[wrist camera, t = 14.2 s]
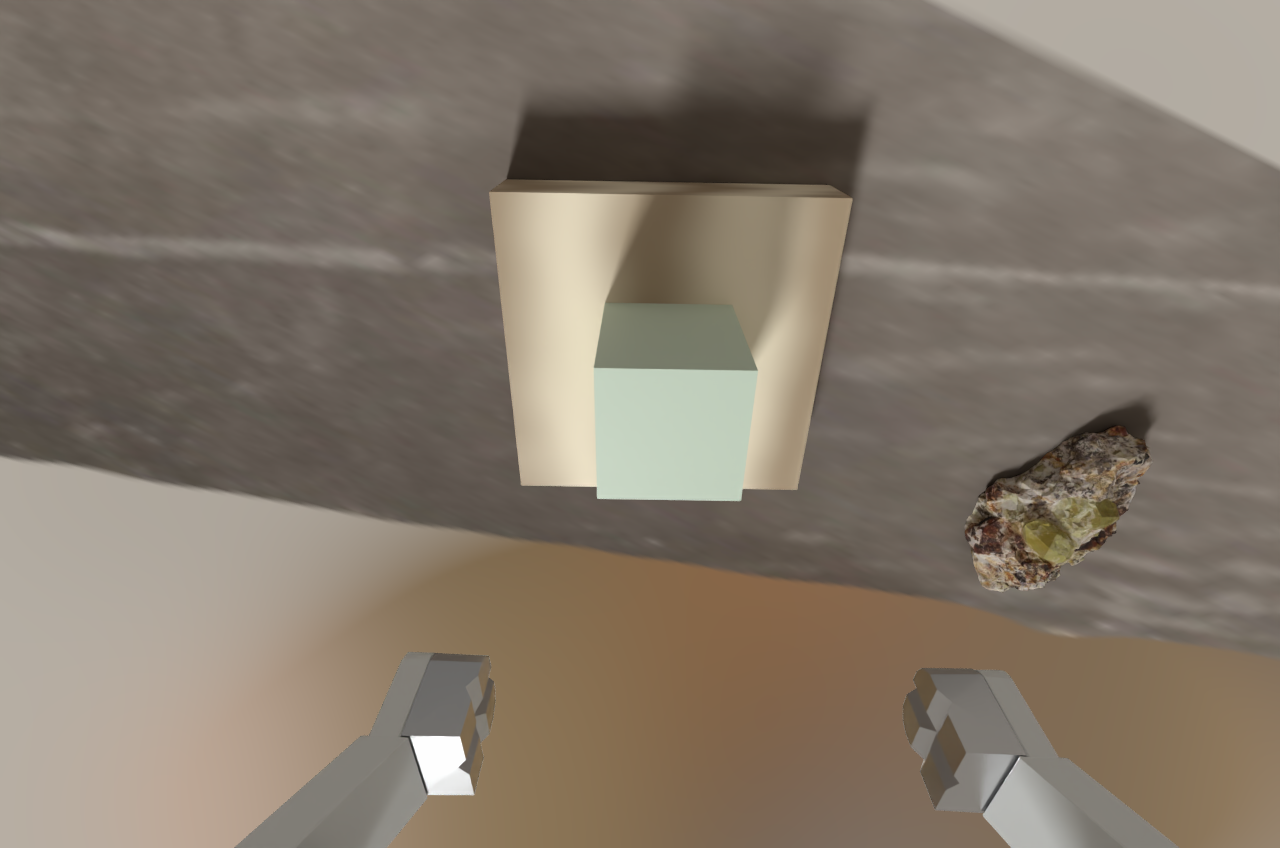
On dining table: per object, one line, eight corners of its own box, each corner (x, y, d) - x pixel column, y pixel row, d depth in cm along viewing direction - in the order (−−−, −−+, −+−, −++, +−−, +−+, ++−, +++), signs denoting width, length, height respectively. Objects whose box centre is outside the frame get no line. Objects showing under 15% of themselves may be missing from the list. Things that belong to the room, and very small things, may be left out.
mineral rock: (1065, 618, 33) (976, 611, 30) (1007, 562, 37) (921, 549, 33) (1221, 473, 29) (1137, 444, 25) (1138, 424, 32) (1054, 392, 29)
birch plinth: (829, 184, 23) (852, 198, 21) (783, 454, 30) (797, 489, 27) (506, 179, 23) (488, 191, 21) (531, 450, 30) (521, 485, 27)
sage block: (732, 304, 23) (758, 370, 18) (721, 415, 25) (740, 501, 20) (604, 302, 23) (593, 368, 18) (606, 413, 25) (597, 498, 20)
